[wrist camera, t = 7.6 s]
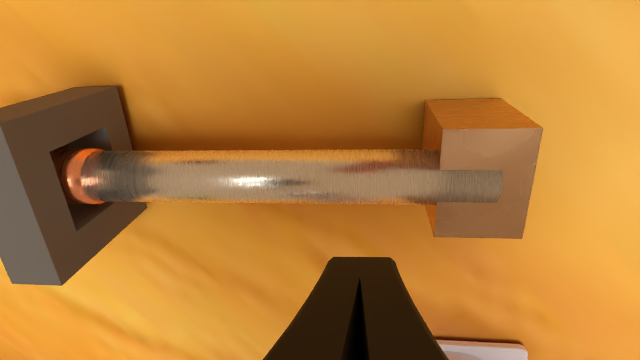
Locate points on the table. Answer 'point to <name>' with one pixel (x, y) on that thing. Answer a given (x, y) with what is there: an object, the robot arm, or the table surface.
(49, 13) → the table surface
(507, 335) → the table surface
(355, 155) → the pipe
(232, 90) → the table surface
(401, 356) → the robot arm
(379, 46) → the table surface
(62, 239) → the collar
